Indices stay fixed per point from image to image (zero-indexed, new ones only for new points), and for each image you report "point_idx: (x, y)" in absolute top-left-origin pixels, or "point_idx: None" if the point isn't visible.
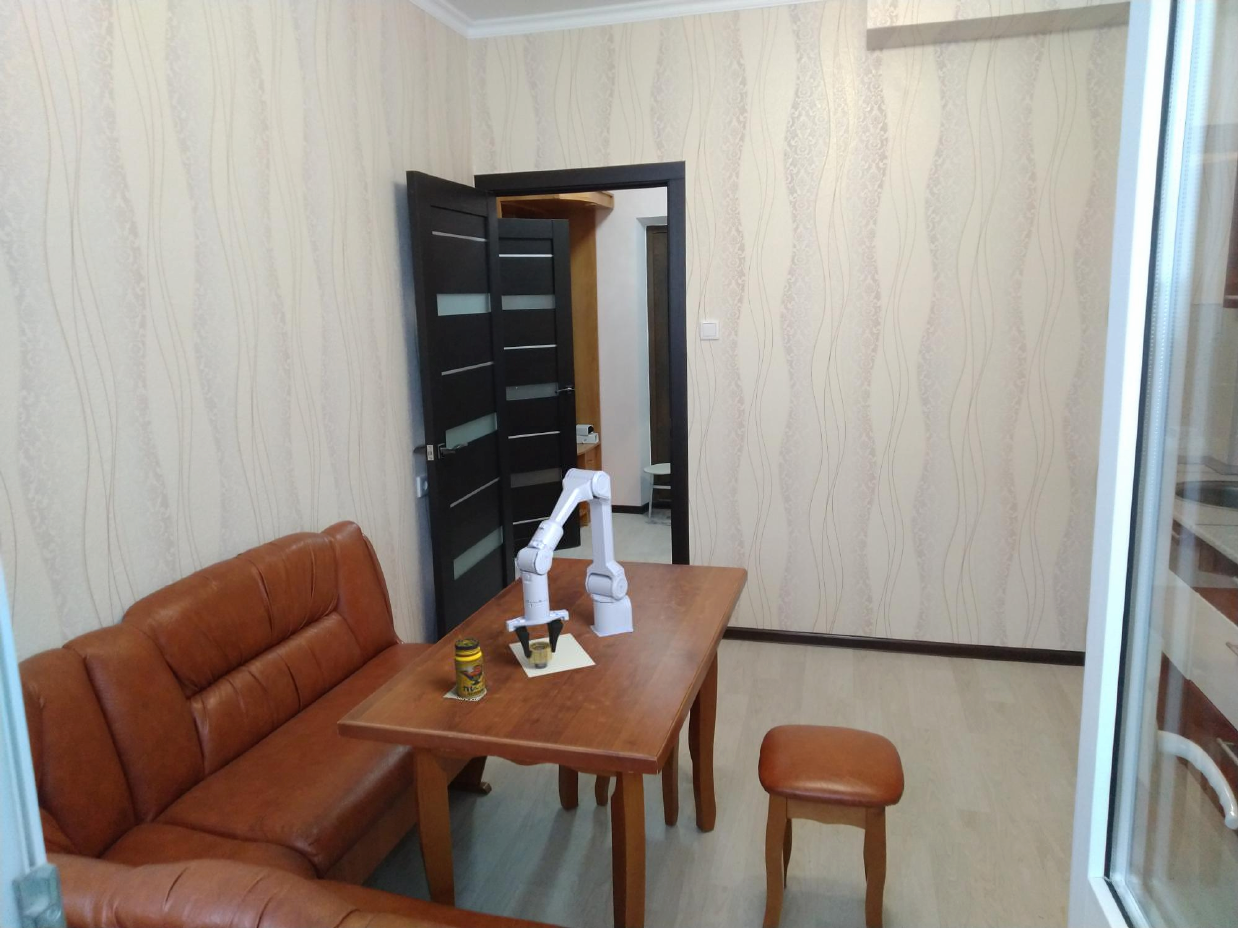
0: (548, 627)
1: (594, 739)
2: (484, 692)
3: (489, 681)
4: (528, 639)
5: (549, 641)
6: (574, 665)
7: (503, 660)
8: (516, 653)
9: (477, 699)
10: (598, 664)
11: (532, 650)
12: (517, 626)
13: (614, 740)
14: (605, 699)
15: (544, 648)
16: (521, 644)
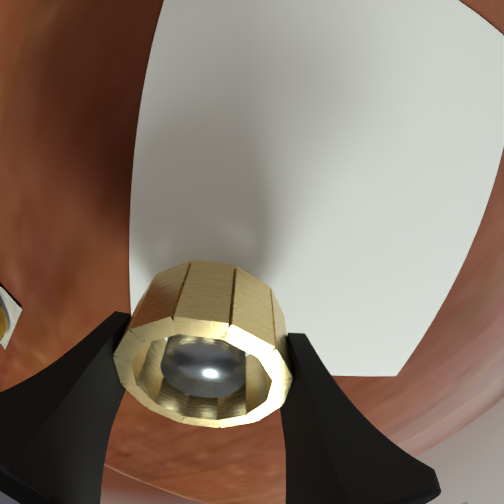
0: (321, 471)
1: (196, 494)
2: (10, 324)
3: (12, 268)
4: (98, 467)
5: (297, 375)
6: (341, 357)
7: (83, 82)
8: (164, 43)
9: (3, 342)
10: (408, 362)
11: (139, 400)
12: (4, 499)
13: (219, 499)
14: (276, 468)
15: (228, 389)
16: (69, 350)
